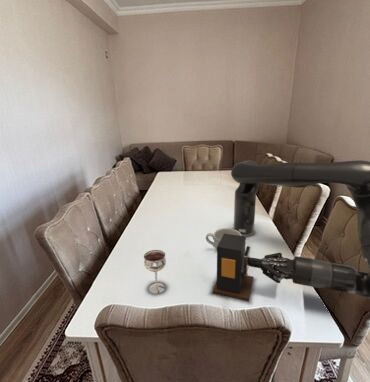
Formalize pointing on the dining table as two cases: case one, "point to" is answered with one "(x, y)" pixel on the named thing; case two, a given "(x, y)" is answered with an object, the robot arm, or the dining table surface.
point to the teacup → (220, 235)
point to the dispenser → (232, 268)
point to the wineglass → (155, 267)
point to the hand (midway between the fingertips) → (248, 261)
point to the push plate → (246, 261)
